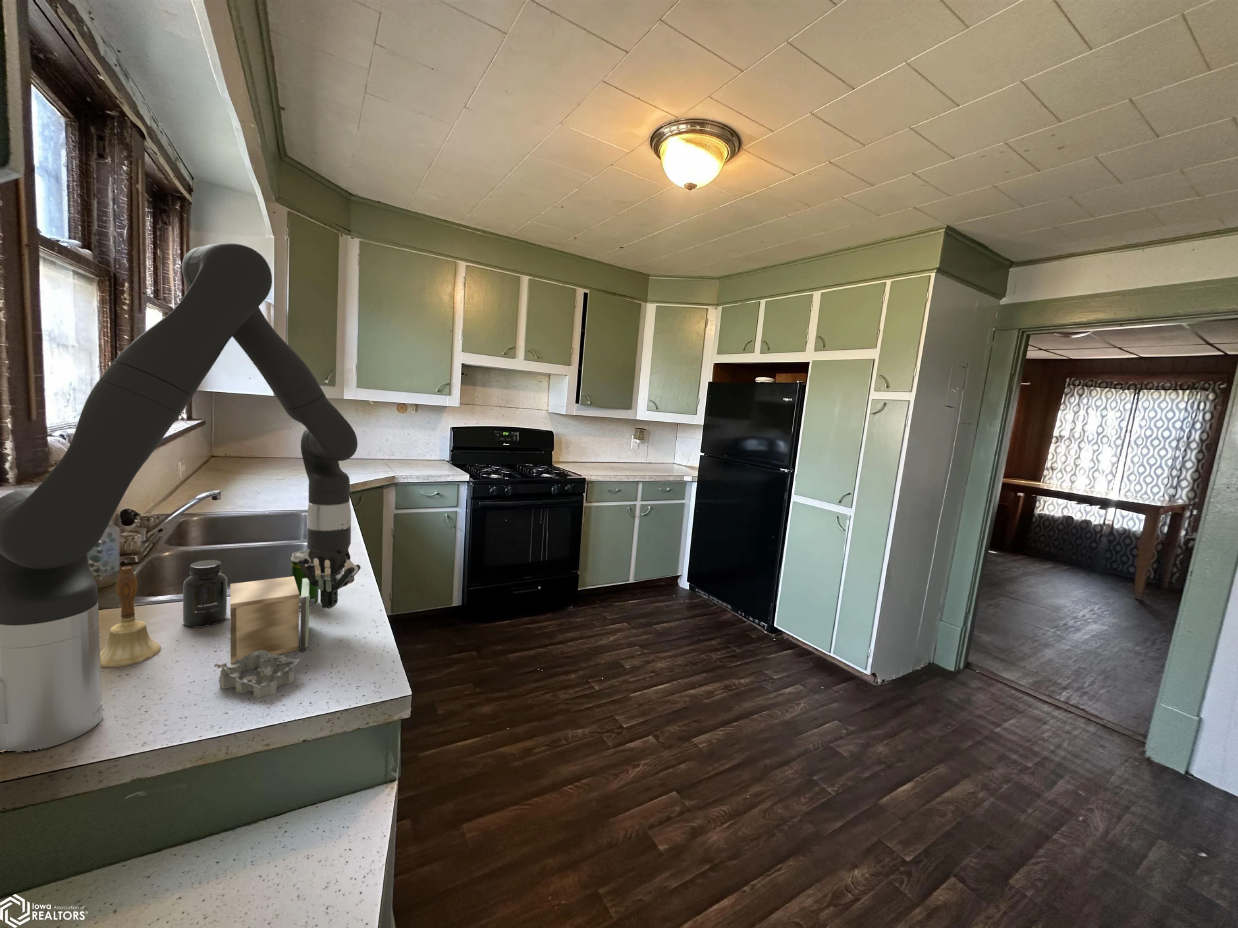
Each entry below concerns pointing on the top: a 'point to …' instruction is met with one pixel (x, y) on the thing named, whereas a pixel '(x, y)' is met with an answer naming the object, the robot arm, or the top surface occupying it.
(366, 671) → the top surface
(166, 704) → the top surface
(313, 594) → the beer can
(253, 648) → the cupboard
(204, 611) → the supplement bottle
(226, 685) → the egg carton
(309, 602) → the door
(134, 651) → the hand bell
